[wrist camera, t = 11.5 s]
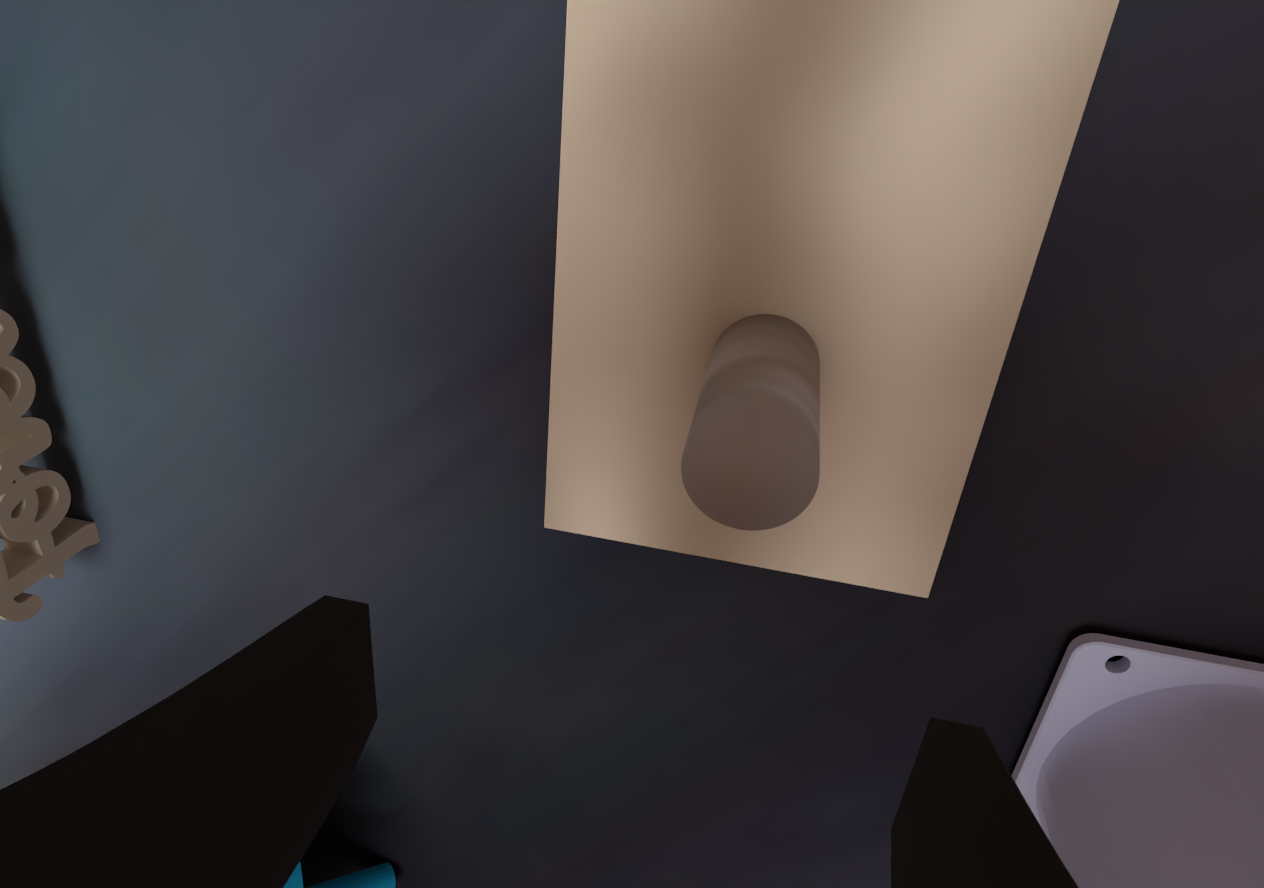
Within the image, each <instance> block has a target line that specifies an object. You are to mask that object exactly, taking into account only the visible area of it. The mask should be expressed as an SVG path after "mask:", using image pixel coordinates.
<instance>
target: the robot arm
mask: <svg viewBox="0 0 1264 888" xmlns="http://www.w3.org/2000/svg"><path fill="white" fill-rule="evenodd" d="M1113 656H1124V657H1123V658H1122V659H1120V660H1118V661H1115V662H1108V661H1107V660H1108V659H1109V658H1111V657H1113ZM376 719H377V706H376V694H375V681H374V668H373V656H372V643H371V631H370V618H369V606H368V604H365V603H361V602H356V601H351V600H346V599H341V598H336V597H331V596H326V595H325V596H323V597H322V598H320V599H319V600H317V601H315V602H314V603H312V604H311V605H309V606H308V607H306V608H305V609H303V610H301V611H300V612H298V613H297V614H295V615H294V616H292V617H291V618H289V619H288V620H286V621H285V622H283V623H282V624H280V625H279V626H277V627H276V628H274V629H273V630H271V631H270V632H268V633H267V634H265V635H264V636H262V637H261V638H259V639H258V640H256V641H255V642H253V643H252V644H250V645H249V646H247V647H246V648H244V649H243V650H241V651H239V652H238V653H236V654H235V655H233V656H232V657H230V658H229V659H227V660H226V661H224V662H223V663H221V664H219V665H218V666H216V667H215V668H213V669H212V670H210V671H209V672H207V673H205V674H204V675H202V676H201V677H199V678H198V679H196V680H194V681H193V682H191V683H190V684H188V685H187V686H185V687H184V688H182V689H180V690H179V691H177V692H176V693H174V694H172V695H171V696H169V697H167V698H166V699H164V700H162V701H161V702H159V703H157V704H155V705H154V706H152V707H150V708H149V709H147V710H145V711H144V712H142V713H140V714H139V715H137V716H135V717H133V718H132V719H130V720H128V721H127V722H125V723H123V724H122V725H120V726H118V727H116V728H115V729H113V730H111V731H110V732H108V733H106V734H105V735H103V736H101V737H99V738H98V739H96V740H94V741H93V742H91V743H89V744H87V745H86V746H84V747H82V748H80V749H78V750H77V751H75V752H73V753H71V754H69V755H67V756H66V757H64V758H62V759H60V760H58V761H56V762H54V763H52V764H50V765H49V766H47V767H45V768H43V769H41V770H39V771H37V772H35V773H33V774H31V775H29V776H27V777H25V778H23V779H21V780H19V781H17V782H15V783H13V784H11V785H9V786H7V787H5V788H3V789H1V790H0V888H283V887H284V886H285V884H286V883H287V881H288V879H289V878H290V876H291V875H292V873H293V871H294V870H295V868H296V867H297V865H298V863H299V862H300V860H301V859H302V857H303V855H304V854H305V852H306V851H307V849H308V847H309V846H310V844H311V842H312V841H313V839H314V838H315V836H316V834H317V833H318V831H319V829H320V828H321V826H322V825H323V823H324V821H325V820H326V818H327V816H328V815H329V813H330V811H331V810H332V808H333V807H334V805H335V803H336V802H337V800H338V798H339V797H340V795H341V793H342V792H343V790H344V788H345V786H346V784H347V782H348V780H349V778H350V776H351V773H352V771H353V769H354V767H355V765H356V763H357V761H358V759H359V757H360V755H361V752H362V750H363V748H364V746H365V744H366V741H367V739H368V737H369V735H370V732H371V730H372V728H373V726H374V723H375V721H376ZM891 888H1264V664H1260V663H1255V662H1250V661H1244V660H1239V659H1233V658H1228V657H1222V656H1217V655H1212V654H1206V653H1201V652H1195V651H1190V650H1185V649H1179V648H1174V647H1168V646H1163V645H1158V644H1152V643H1147V642H1141V641H1136V640H1131V639H1125V638H1120V637H1114V636H1109V635H1104V634H1098V633H1087V634H1083V635H1080V636H1078V637H1076V638H1075V639H1073V640H1072V641H1071V643H1070V644H1069V645H1068V647H1067V650H1066V652H1065V654H1064V656H1063V659H1062V661H1061V663H1060V666H1059V668H1058V670H1057V673H1056V675H1055V677H1054V679H1053V682H1052V684H1051V686H1050V689H1049V691H1048V693H1047V695H1046V698H1045V700H1044V702H1043V705H1042V707H1041V709H1040V712H1039V714H1038V716H1037V718H1036V721H1035V723H1034V725H1033V728H1032V730H1031V732H1030V735H1029V737H1028V739H1027V741H1026V744H1025V746H1024V748H1023V751H1022V753H1021V755H1020V757H1019V760H1018V762H1017V764H1016V767H1015V769H1014V771H1013V774H1012V776H1011V774H1010V772H1009V771H1008V769H1007V767H1006V765H1005V764H1004V762H1003V760H1002V758H1001V756H1000V755H999V753H998V751H997V749H996V748H995V746H994V744H993V742H992V741H991V739H990V737H989V736H988V734H987V733H986V731H985V730H984V729H983V728H981V727H976V726H971V725H966V724H961V723H956V722H951V721H946V720H941V719H936V718H930V721H929V724H928V727H927V729H926V732H925V735H924V738H923V741H922V744H921V746H920V749H919V752H918V755H917V758H916V761H915V763H914V766H913V769H912V772H911V775H910V778H909V780H908V783H907V786H906V789H905V792H904V795H903V797H902V800H901V803H900V806H899V809H898V812H897V814H896V817H895V820H894V823H893V826H892V829H891Z"/></svg>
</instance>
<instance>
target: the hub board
mask: <svg viewBox="0 0 1264 888" xmlns="http://www.w3.org/2000/svg"><path fill="white" fill-rule="evenodd" d="M1118 3H1119V0H567V20H566V42H565V65H564V88H563V110H562V133H561V156H560V178H559V201H558V224H557V247H556V269H555V292H554V315H553V337H552V360H551V383H550V405H549V428H548V451H547V474H546V496H545V519H544V527H545V528H550V529H555V530H561V531H566V532H572V533H577V534H583V535H588V536H593V537H599V538H604V539H610V540H615V541H620V542H626V543H631V544H637V545H642V546H648V547H653V548H658V549H664V550H669V551H675V552H680V553H686V554H691V555H696V556H702V557H707V558H713V559H718V560H723V561H729V562H734V563H740V564H745V565H751V566H756V567H761V568H767V569H772V570H778V571H783V572H789V573H794V574H799V575H805V576H810V577H816V578H821V579H826V580H832V581H837V582H843V583H848V584H854V585H859V586H864V587H870V588H875V589H881V590H886V591H891V592H897V593H902V594H908V595H913V596H919V597H924V598H928V596H929V593H930V590H931V586H932V583H933V580H934V577H935V574H936V571H937V568H938V565H939V562H940V558H941V555H942V552H943V549H944V546H945V543H946V540H947V537H948V533H949V530H950V527H951V524H952V521H953V518H954V515H955V512H956V508H957V505H958V502H959V499H960V496H961V493H962V490H963V487H964V484H965V480H966V477H967V474H968V471H969V468H970V465H971V462H972V459H973V455H974V452H975V449H976V446H977V443H978V440H979V437H980V434H981V430H982V427H983V424H984V421H985V418H986V415H987V412H988V409H989V405H990V402H991V399H992V396H993V393H994V390H995V387H996V384H997V381H998V377H999V374H1000V371H1001V368H1002V365H1003V362H1004V359H1005V356H1006V352H1007V349H1008V346H1009V343H1010V340H1011V337H1012V334H1013V331H1014V327H1015V324H1016V321H1017V318H1018V315H1019V312H1020V309H1021V306H1022V303H1023V299H1024V296H1025V293H1026V290H1027V287H1028V284H1029V281H1030V278H1031V274H1032V271H1033V268H1034V265H1035V262H1036V259H1037V256H1038V253H1039V249H1040V246H1041V243H1042V240H1043V237H1044V234H1045V231H1046V228H1047V225H1048V221H1049V218H1050V215H1051V212H1052V209H1053V206H1054V203H1055V200H1056V196H1057V193H1058V190H1059V187H1060V184H1061V181H1062V178H1063V175H1064V171H1065V168H1066V165H1067V162H1068V159H1069V156H1070V153H1071V150H1072V147H1073V143H1074V140H1075V137H1076V134H1077V131H1078V128H1079V125H1080V122H1081V118H1082V115H1083V112H1084V109H1085V106H1086V103H1087V100H1088V97H1089V93H1090V90H1091V87H1092V84H1093V81H1094V78H1095V75H1096V72H1097V69H1098V65H1099V62H1100V59H1101V56H1102V53H1103V50H1104V47H1105V44H1106V40H1107V37H1108V34H1109V31H1110V28H1111V25H1112V22H1113V19H1114V15H1115V12H1116V9H1117V6H1118Z"/></svg>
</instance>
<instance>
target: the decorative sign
mask: <svg viewBox="0 0 1264 888" xmlns="http://www.w3.org/2000/svg"><path fill="white" fill-rule="evenodd" d="M18 338H19V331H18V327H17V325H16V323H15V321H14V319H13V318H12V317H11V316H10V315H9V314H8V313H6V312H5V311H3V310H1V309H0V539H1V540H2V542H3V544H4V547H5V549H4V550H2V551H0V619H4V620H9V621H14V622H19V621H25V620H28V619H30V618H32V617H33V616H34V615H35V614H36V613H37V612H38V611H39V609H40V608H41V606H42V600H41V598H40V597H39V596H37V595H32V594H27V593H23V592H24V591H25V590H26V589H28V588H29V587H30V586H32V585H33V584H34V583H36V582H37V581H39V580H40V579H41V578H43V577H44V576H46V577H51V578H56V579H59V578H61V577H62V576H63V574H64V572H65V570H64V567H63V565H62V563H63V562H65V561H66V560H68V559H69V558H70V557H72V556H73V555H75V554H76V553H78V552H79V551H81V550H82V549H84V548H86V547H88V546H91V545H95V544H97V543H99V542H100V539H99V535H98V531H97V528H96V524H95V523H94V522H89V521H84V520H79V519H74V518H68V517H65V515H66V513H67V511H68V509H69V506H70V502H71V494H70V490H69V487H68V484H67V482H66V481H65V479H64V478H63V477H62V476H61V475H60V474H59V473H57V472H54V471H51V470H45V469H40V468H34V467H29V466H24V465H22V464H24V463H25V462H27V461H29V460H31V459H32V458H34V457H35V456H37V455H38V454H40V453H41V452H43V451H44V450H46V449H47V448H48V447H49V446H50V445H51V443H52V436H51V431H50V428H49V425H48V424H47V423H46V422H45V421H44V420H42V419H38V418H34V417H29V416H23V415H24V414H25V413H26V412H27V411H28V409H29V408H30V406H31V404H32V403H33V400H34V397H35V392H36V385H35V380H34V378H33V375H32V373H31V371H30V370H29V368H28V367H27V366H26V365H25V364H24V363H23V362H22V361H20V360H18V359H17V358H14V357H12V356H8V355H9V354H10V352H11V351H12V350H13V348H14V347H15V345H16V343H17V341H18Z"/></svg>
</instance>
